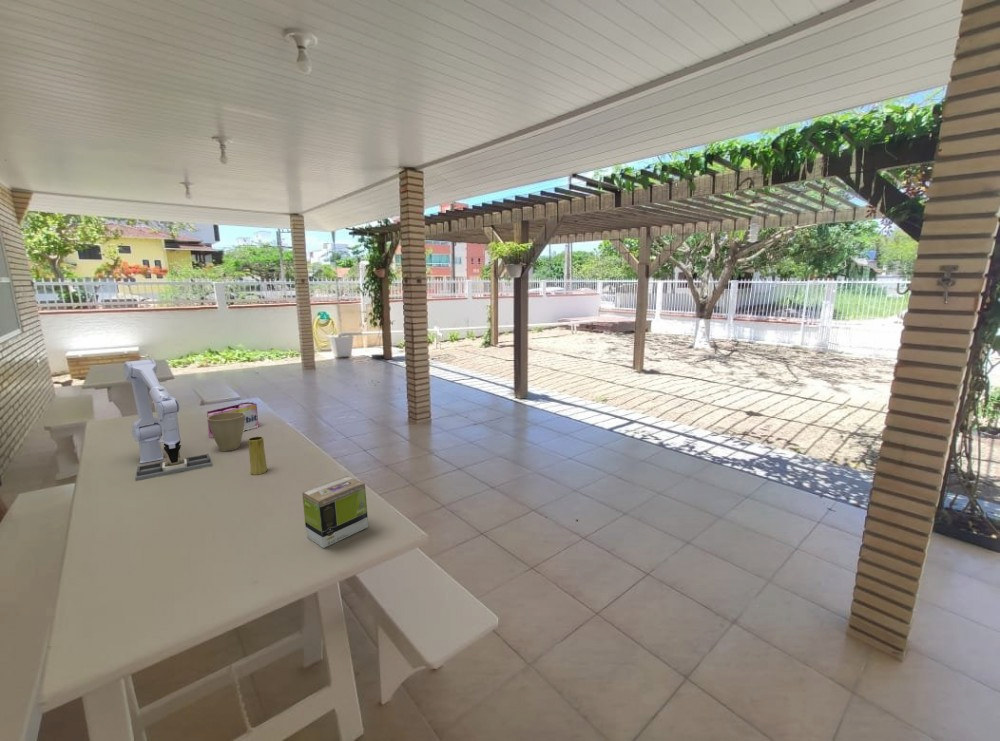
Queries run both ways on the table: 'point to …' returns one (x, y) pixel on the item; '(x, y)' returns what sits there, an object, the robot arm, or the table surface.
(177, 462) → the beech pin
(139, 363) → the robot arm
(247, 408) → the gum box
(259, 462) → the vase
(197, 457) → the gray compartment tray
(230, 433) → the plant pot
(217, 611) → the table surface
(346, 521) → the tea box
